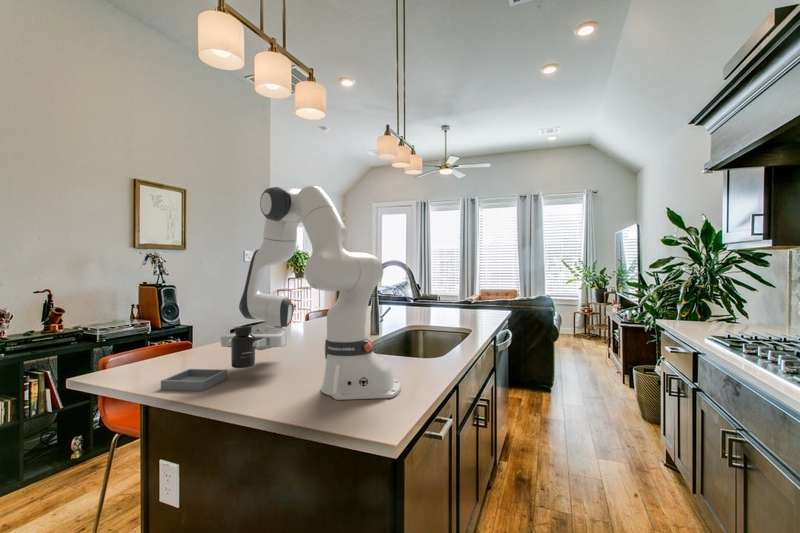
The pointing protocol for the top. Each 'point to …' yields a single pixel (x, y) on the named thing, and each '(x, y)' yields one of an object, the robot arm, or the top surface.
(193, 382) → the tray
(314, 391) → the top surface
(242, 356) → the supplement bottle
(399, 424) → the top surface
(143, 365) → the top surface
